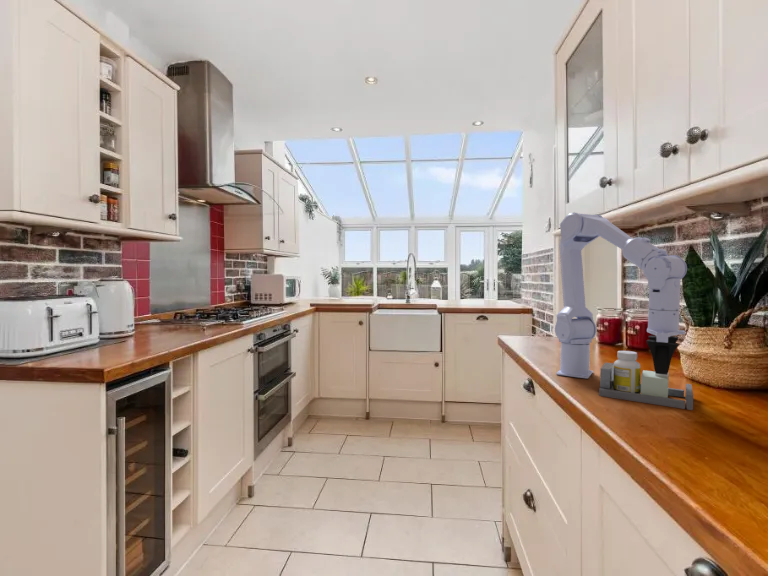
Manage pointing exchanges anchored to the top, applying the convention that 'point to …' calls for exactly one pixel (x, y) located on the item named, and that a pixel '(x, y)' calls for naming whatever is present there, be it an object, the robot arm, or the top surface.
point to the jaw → (654, 384)
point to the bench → (608, 391)
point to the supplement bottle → (626, 372)
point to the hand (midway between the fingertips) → (661, 370)
